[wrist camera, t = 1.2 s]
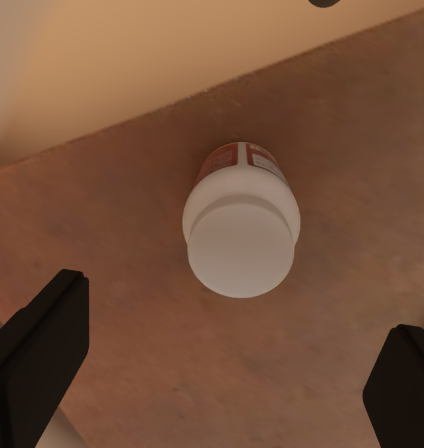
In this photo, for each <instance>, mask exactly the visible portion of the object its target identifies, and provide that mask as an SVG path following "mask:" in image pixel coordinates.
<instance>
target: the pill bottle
mask: <svg viewBox="0 0 424 448" xmlns="http://www.w3.org/2000/svg"><path fill="white" fill-rule="evenodd" d="M182 224H183V233H184V237H185V240H186V243H187V245H188V259H189V263H190V266H191V268H192V270H193V272H194V274H195V275H196V277H197V278H198V279H199V280H200V281H201V282H202V283H203V284H204V285H205V286H206V287H208V288H209V289H211V290H213V291H214V292H216V293H219V294H221V295H224V296H228V297H233V298H248V297H254V296H258V295H261V294H264V293H266V292H268V291H270V290H272V289H273V288H275V287H276V286H277V285H278V284H279V283H281V282H282V280H283V279H284V278H285V277H286V275H287V274H288V272H289V270H290V268H291V266H292V263H293V259H294V247H295V244H296V242H297V240H298V236H299V232H300V213H299V208H298V205H297V203H296V200H295V198H294V195H293V193H292V191H291V189H290V187H289V185H288V183H287V181H286V179H285V177H284V175H283V173H282V171H281V168H280V166H279V164H278V163H277V161H276V160H275V158H274V157H273V156H272V155H271V154H270V153H269V152H268V151H267V150H265V149H264V148H262V147H260V146H258V145H256V144H253V143H248V142H235V143H230V144H227V145H224V146H222V147H220V148H218V149H217V150H215V151H214V152H213V153H211V154H210V155H209V156H208V158H207V159H206V160H205V161H204V163H203V164H202V166H201V168H200V170H199V173H198V175H197V178H196V180H195V183H194V185H193V187H192V190H191V192H190V194H189V197H188V199H187V202H186V205H185V208H184V212H183V223H182Z"/></svg>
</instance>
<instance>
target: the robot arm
mask: <svg viewBox="0 0 424 448" xmlns="http://www.w3.org/2000/svg"><path fill="white" fill-rule="evenodd" d="M88 349H89V280H88V278H87V277H84V275H83V273H82V272H80V271H74V270H68V269H62V270H61V271H60V272H59V273H58V274H57V275H56V276H55V277H54V278H53V279H52V280H51V281H50V282H49V283H48V284H47V285H46V286H45V287H44V288H43V289H42V290H41V292H40V293H39V294H38V295H37V296H36V297H35V298H34V299H33V300H32V301H31V302H30V303H29V304H28V305H27V306H26V307H25V308H22V309H20V310H19V311H17V312H16V313H15V314H14V315H13V316H12V317H11V318H10V319H9V320H8V321H7V322H6V324H5V325H4V326H3V327H2V328H1V329H0V448H35V446H36V445H37V443H38V441H39V439H40V437H41V436H42V434H43V432H44V430H45V429H46V427H47V425H48V423H49V421H50V419H51V417H52V416H53V414H54V413H55V411H56V409H57V407H58V405H59V404H60V402H61V400H62V398H63V397H64V395H65V393H66V391H67V389H68V388H69V386H70V384H71V382H72V380H73V379H74V377H75V375H76V373H77V372H78V370H79V368H80V366H81V364H82V363H83V361H84V359H85V357H86V355H87V353H88ZM363 403H364V405H365V408H366V411H367V413H368V416H369V418H370V421H371V423H372V426H373V428H374V431H375V433H376V436H377V439H378V441H379V444H380V446H381V448H424V330H423V329H422V328H421V327H417V326H411V325H404V324H399V325H398V326H397V327H396V328H392V329H391V330H390V332H389V334H388V336H387V338H386V341H385V343H384V345H383V347H382V350H381V352H380V354H379V356H378V358H377V361H376V363H375V365H374V367H373V370H372V372H371V374H370V376H369V378H368V381H367V383H366V385H365V387H364V390H363Z"/></svg>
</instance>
